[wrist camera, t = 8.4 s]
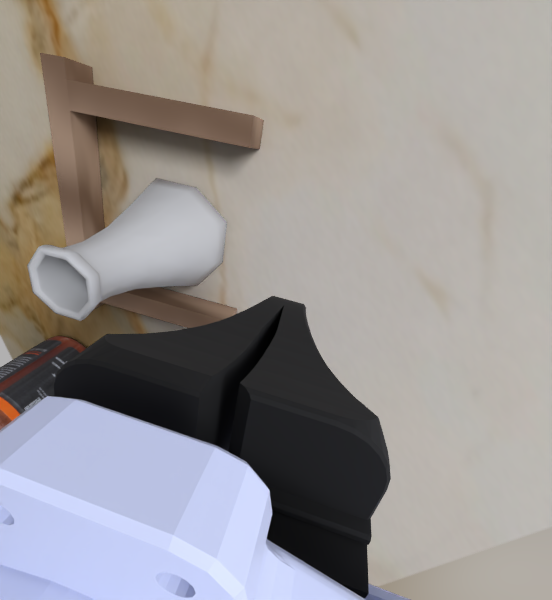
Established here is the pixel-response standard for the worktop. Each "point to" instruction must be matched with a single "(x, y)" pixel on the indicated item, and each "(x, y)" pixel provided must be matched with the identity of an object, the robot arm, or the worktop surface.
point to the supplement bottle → (33, 375)
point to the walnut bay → (86, 168)
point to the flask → (134, 251)
